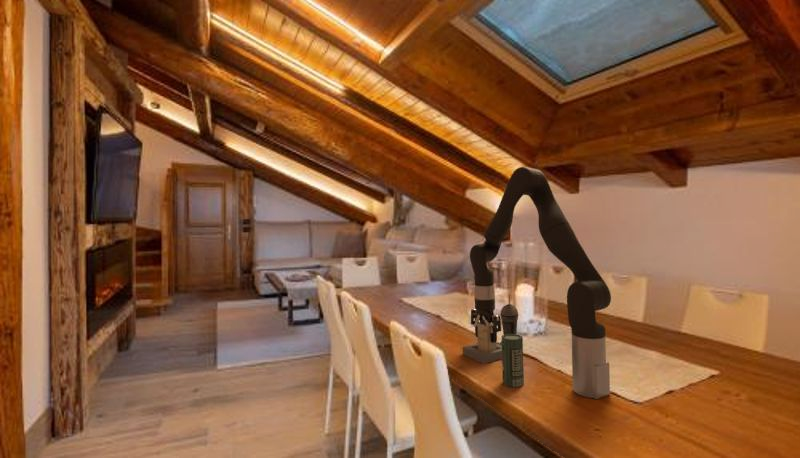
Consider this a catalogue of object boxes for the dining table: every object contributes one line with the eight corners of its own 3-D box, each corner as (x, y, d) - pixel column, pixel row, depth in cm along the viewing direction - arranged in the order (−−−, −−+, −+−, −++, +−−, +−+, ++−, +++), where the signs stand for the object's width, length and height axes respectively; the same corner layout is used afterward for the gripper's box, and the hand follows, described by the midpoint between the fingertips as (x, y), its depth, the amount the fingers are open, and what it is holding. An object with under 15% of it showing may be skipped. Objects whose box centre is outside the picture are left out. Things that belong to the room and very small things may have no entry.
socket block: (510, 356, 157) (510, 348, 157) (483, 363, 151) (483, 355, 151) (488, 347, 168) (488, 340, 168) (462, 354, 161) (462, 346, 161)
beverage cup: (517, 339, 177) (516, 291, 176) (520, 345, 169) (519, 295, 168) (499, 339, 177) (498, 292, 176) (502, 345, 170) (500, 296, 169)
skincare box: (477, 354, 161) (476, 322, 160) (486, 352, 163) (485, 321, 162) (488, 359, 155) (486, 326, 155) (497, 357, 157) (496, 324, 157)
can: (515, 378, 137) (514, 332, 137) (527, 385, 132) (526, 337, 131) (499, 381, 135) (498, 335, 135) (511, 389, 130) (509, 340, 129)
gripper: (505, 298, 154) (506, 342, 155) (479, 292, 166) (481, 333, 167) (489, 301, 150) (491, 346, 151) (464, 295, 163) (466, 336, 163)
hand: (485, 339), depth 159 cm, fingers open, 8 cm apart
